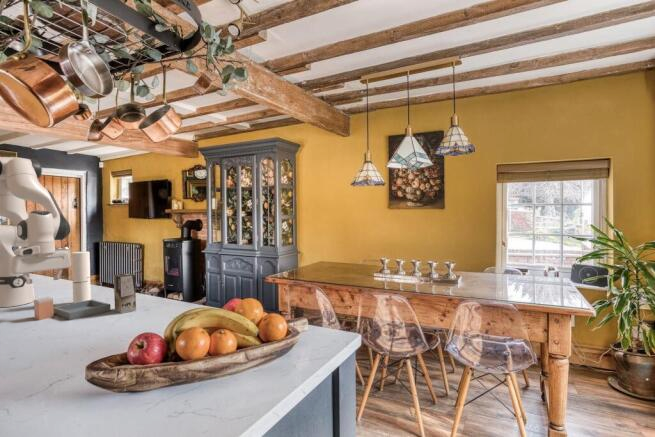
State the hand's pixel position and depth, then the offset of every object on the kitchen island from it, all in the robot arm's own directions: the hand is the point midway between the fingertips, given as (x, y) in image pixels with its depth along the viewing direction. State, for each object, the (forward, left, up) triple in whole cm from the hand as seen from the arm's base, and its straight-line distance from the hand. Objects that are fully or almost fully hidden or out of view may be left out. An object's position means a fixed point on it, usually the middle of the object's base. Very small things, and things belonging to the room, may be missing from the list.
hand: (43, 281), depth 151 cm
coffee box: (+19, +24, -16) cm, 34 cm away
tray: (+5, +12, -15) cm, 20 cm away
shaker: (0, 0, -15) cm, 15 cm away
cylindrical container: (-13, +20, -16) cm, 29 cm away
